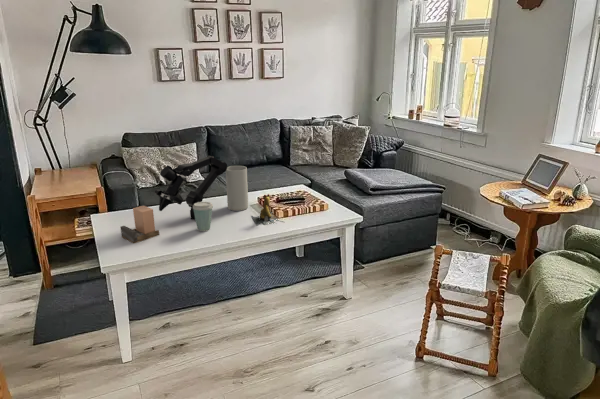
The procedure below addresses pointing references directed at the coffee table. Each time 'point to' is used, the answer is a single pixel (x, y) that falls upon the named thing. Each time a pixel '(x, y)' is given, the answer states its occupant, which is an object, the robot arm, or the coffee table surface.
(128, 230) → the roller track
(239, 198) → the cylinder vase
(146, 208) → the terracotta slab
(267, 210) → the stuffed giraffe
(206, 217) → the disposable coffee cup
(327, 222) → the coffee table surface
